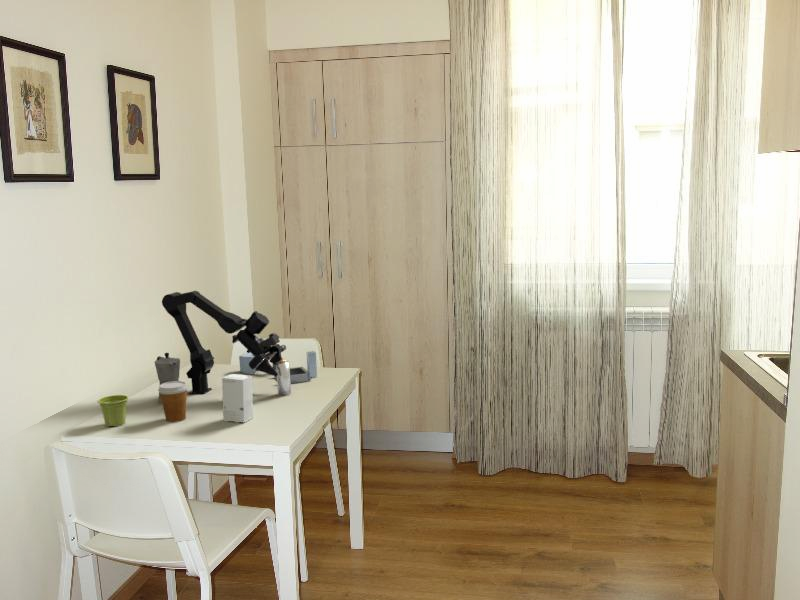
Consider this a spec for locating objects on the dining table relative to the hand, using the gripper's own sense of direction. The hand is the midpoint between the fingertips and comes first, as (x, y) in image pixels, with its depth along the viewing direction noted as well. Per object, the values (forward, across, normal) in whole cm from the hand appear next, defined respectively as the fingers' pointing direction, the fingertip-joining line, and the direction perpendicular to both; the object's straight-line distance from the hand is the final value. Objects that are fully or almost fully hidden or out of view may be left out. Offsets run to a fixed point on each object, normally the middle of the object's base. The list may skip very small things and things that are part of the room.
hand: (281, 372), depth 268 cm
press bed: (+4, +21, +8) cm, 23 cm away
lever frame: (-10, +30, +21) cm, 38 cm away
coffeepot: (-22, -12, +34) cm, 42 cm away
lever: (-11, +30, +13) cm, 34 cm away
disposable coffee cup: (-12, -32, +24) cm, 42 cm away
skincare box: (+4, -30, +8) cm, 31 cm away
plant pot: (-25, -39, +37) cm, 59 cm away
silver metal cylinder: (+6, 0, +6) cm, 8 cm away
